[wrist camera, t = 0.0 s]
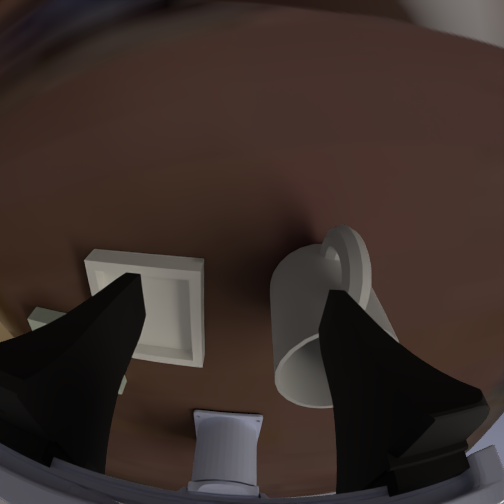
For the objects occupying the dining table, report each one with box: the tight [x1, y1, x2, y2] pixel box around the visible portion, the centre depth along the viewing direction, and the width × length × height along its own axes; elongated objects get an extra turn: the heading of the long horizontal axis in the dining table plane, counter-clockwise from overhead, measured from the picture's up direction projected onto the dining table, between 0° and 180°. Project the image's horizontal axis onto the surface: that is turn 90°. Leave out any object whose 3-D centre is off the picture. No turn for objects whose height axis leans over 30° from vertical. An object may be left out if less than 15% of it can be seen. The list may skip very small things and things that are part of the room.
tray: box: [84, 249, 205, 368], centre depth 24 cm, size 10×9×2 cm
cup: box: [270, 224, 399, 408], centre depth 19 cm, size 7×10×9 cm
